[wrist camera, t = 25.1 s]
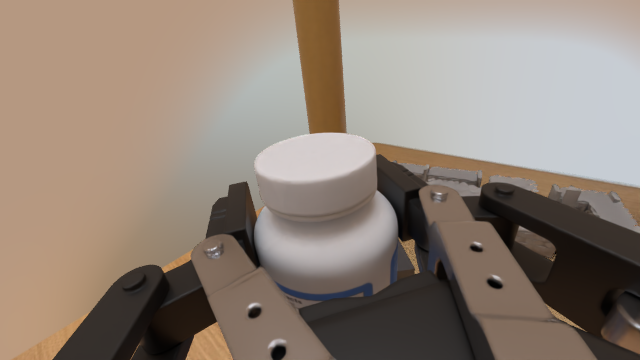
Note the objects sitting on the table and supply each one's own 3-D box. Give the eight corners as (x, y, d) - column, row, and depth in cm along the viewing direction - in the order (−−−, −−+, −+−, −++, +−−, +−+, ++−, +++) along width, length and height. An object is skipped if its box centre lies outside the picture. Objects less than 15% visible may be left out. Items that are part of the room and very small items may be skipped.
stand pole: (349, 224, 30) (327, -107, 17) (355, 243, 27) (335, -137, 14) (321, 228, 30) (278, -103, 17) (325, 247, 27) (276, -132, 14)
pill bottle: (337, 272, 17) (322, 119, 12) (417, 329, 13) (436, 139, 8) (263, 334, 13) (205, 159, 9) (339, 432, 10) (306, 219, 5)
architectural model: (387, 175, 42) (388, 145, 39) (603, 207, 30) (623, 167, 28) (361, 216, 33) (360, 181, 31) (649, 283, 22) (684, 235, 19)
